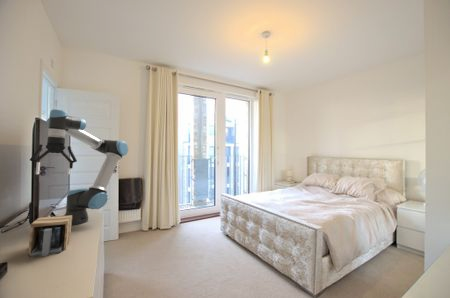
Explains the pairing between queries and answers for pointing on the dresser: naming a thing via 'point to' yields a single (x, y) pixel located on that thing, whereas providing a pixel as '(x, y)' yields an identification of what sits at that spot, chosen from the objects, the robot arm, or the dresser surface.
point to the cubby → (50, 221)
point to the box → (52, 236)
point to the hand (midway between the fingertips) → (53, 174)
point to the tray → (47, 246)
